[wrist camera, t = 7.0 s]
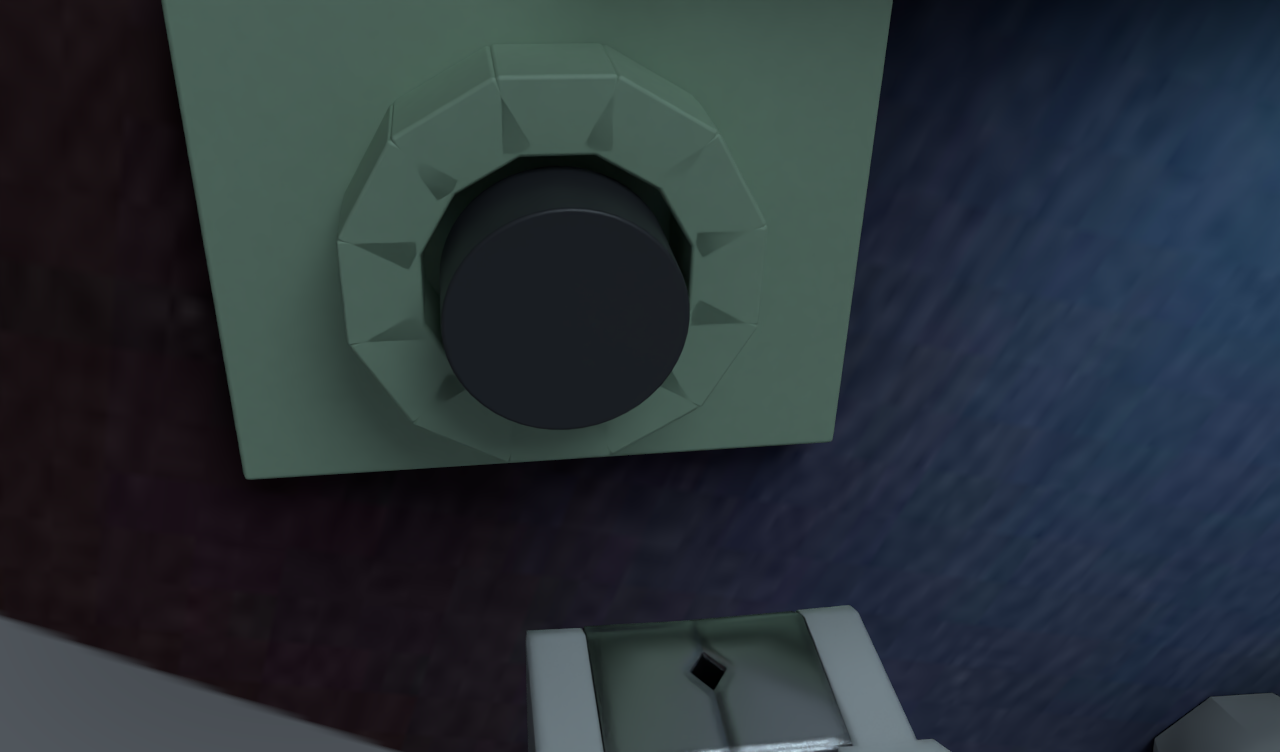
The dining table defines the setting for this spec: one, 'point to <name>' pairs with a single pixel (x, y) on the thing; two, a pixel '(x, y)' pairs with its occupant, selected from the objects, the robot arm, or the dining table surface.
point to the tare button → (561, 299)
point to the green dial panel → (497, 148)
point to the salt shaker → (1226, 726)
